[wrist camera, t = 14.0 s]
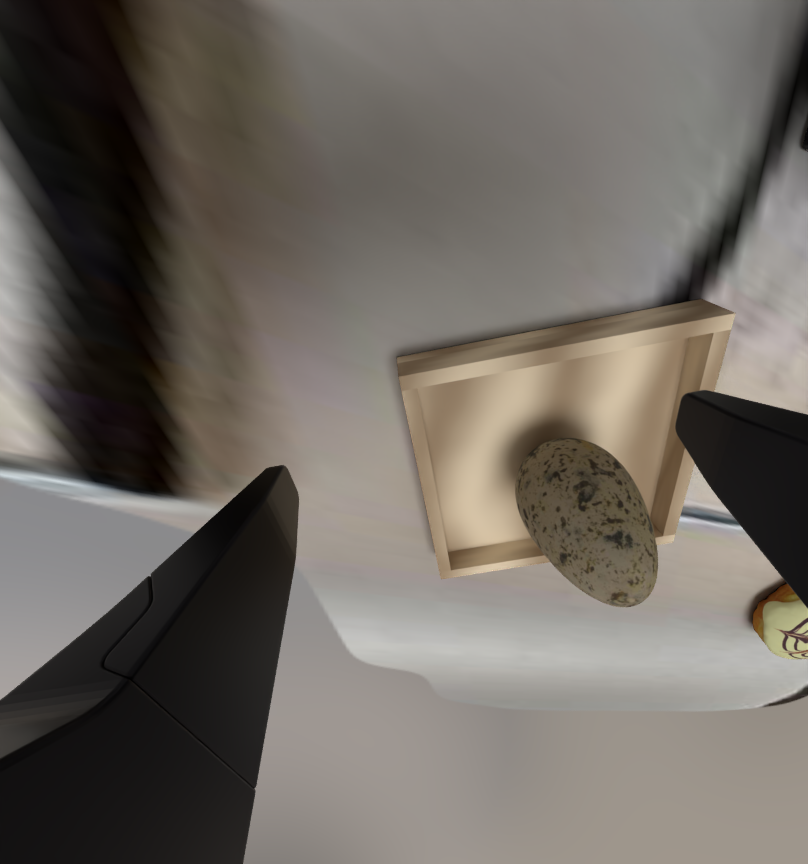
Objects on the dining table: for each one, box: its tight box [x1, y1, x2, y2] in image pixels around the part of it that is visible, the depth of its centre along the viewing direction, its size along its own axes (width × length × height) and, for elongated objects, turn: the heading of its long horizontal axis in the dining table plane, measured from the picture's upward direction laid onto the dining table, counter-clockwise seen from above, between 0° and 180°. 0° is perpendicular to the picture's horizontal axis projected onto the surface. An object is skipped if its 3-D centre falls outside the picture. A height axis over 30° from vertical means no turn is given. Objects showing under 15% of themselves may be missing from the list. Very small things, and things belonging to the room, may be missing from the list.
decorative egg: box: [515, 438, 658, 607], centre depth 21 cm, size 6×6×10 cm
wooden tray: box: [397, 299, 736, 579], centre depth 25 cm, size 16×16×2 cm
